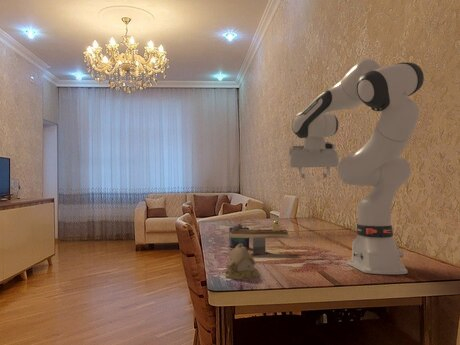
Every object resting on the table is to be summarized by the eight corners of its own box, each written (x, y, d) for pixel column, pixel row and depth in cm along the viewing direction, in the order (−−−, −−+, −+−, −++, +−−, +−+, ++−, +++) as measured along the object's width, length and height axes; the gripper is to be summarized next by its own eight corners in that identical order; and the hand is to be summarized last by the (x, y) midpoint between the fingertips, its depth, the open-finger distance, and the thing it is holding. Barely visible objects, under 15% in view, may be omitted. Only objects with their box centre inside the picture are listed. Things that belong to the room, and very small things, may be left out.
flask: (228, 247, 182) (228, 223, 182) (230, 246, 185) (230, 222, 185) (248, 248, 179) (248, 223, 179) (250, 247, 182) (250, 223, 182)
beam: (288, 254, 164) (288, 227, 164) (229, 253, 166) (229, 226, 166) (287, 251, 170) (287, 225, 170) (231, 250, 172) (231, 224, 172)
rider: (280, 233, 166) (279, 221, 166) (272, 233, 166) (272, 221, 166) (279, 232, 169) (279, 220, 169) (272, 232, 169) (272, 220, 169)
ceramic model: (264, 278, 125) (263, 246, 125) (228, 280, 122) (228, 247, 122) (251, 268, 138) (251, 239, 139) (219, 270, 136) (219, 240, 136)
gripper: (289, 145, 169) (289, 178, 170) (339, 144, 167) (339, 178, 168) (288, 145, 176) (289, 177, 177) (336, 144, 174) (336, 177, 175)
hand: (313, 177), depth 172 cm, fingers open, 8 cm apart
